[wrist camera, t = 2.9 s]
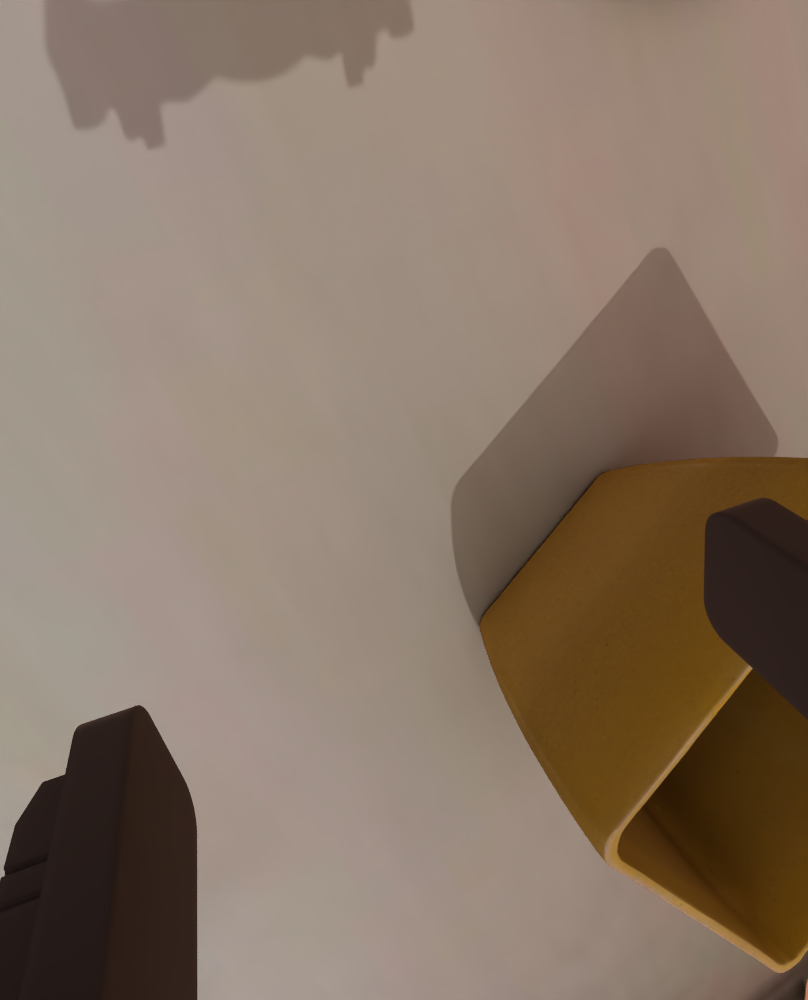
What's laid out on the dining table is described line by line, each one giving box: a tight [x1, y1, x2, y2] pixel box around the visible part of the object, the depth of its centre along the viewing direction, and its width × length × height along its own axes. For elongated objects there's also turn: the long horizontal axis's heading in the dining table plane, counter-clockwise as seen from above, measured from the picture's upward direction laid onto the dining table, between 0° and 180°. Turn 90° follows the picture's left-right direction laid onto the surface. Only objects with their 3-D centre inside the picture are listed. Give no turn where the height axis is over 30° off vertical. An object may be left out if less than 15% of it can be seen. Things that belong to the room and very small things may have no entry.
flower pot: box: [480, 457, 808, 973], centre depth 37 cm, size 19×19×17 cm
